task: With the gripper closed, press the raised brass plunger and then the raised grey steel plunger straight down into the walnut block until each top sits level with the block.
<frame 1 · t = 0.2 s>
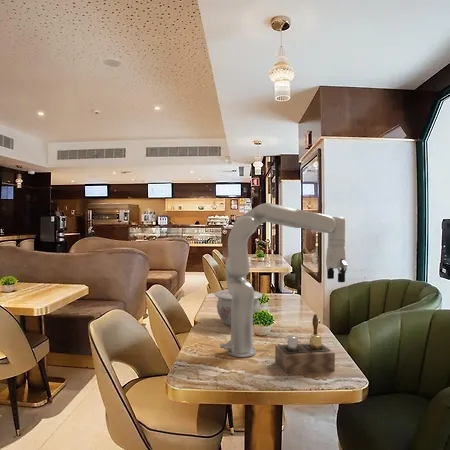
hand: (335, 280, 163), 31 cm above the table, tool pointing down, fingers open, 9 cm apart
chamber pot: (238, 323, 200), on the table
walnut block: (304, 366, 140), on the table
steel plunger: (292, 345, 139), point 9 cm above the table, slide at 5.0 cm
hand bell: (315, 349, 159), on the table
brass plunger: (316, 344, 141), point 9 cm above the table, slide at 5.0 cm
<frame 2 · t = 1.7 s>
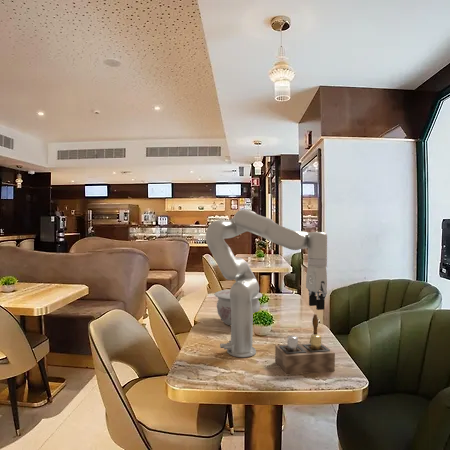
hand: (316, 307, 141), 24 cm above the table, tool pointing down, fingers open, 5 cm apart
nothing on the table moved.
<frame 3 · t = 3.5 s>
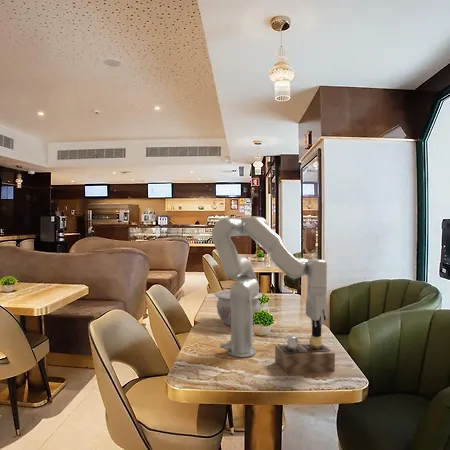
hand: (316, 335, 141), 12 cm above the table, tool pointing down, fingers closed
brass plunger: (316, 344, 141), point 8 cm above the table, slide at 4.9 cm, touching gripper
everything else where it was.
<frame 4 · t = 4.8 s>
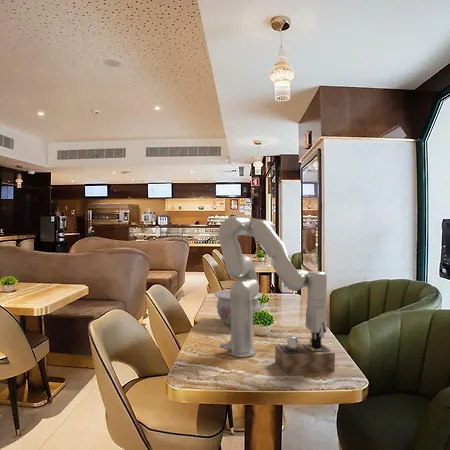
hand: (316, 348, 141), 7 cm above the table, tool pointing down, fingers closed
brass plunger: (315, 356, 141), point 4 cm above the table, slide at 0.1 cm, touching gripper
everything else where it was.
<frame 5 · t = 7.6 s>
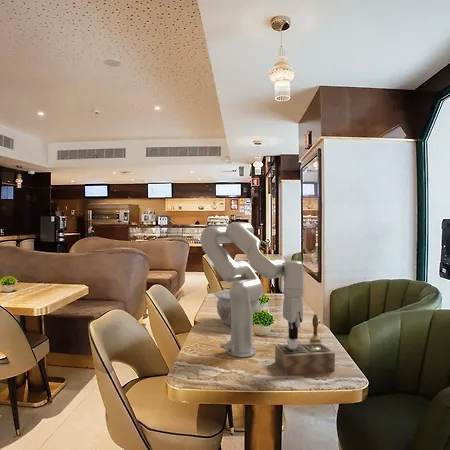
hand: (293, 338, 139), 12 cm above the table, tool pointing down, fingers closed
steel plunger: (292, 347, 139), point 8 cm above the table, slide at 4.5 cm, touching gripper
brass plunger: (315, 356, 141), point 4 cm above the table, slide at 0.1 cm
everything else where it was.
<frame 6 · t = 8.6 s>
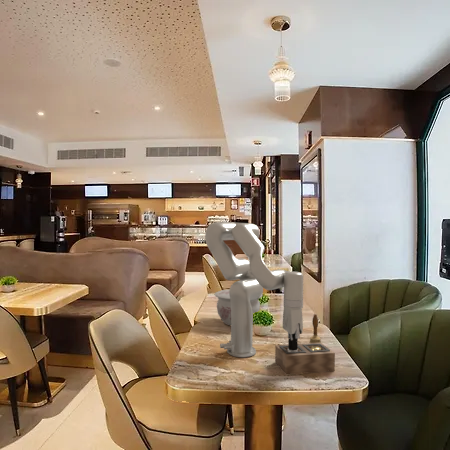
hand: (292, 349, 139), 7 cm above the table, tool pointing down, fingers closed
steel plunger: (292, 358, 139), point 4 cm above the table, slide at 0.1 cm, touching gripper
everything else where it was.
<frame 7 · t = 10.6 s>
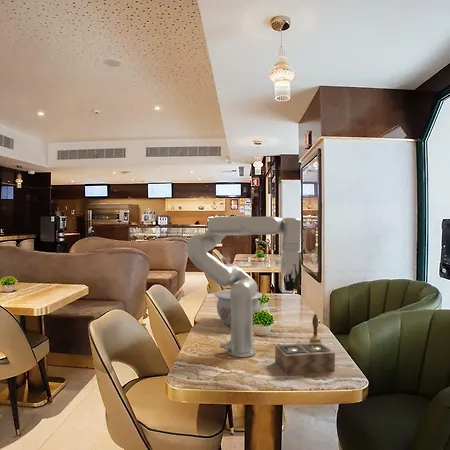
hand: (289, 290, 148), 29 cm above the table, tool pointing down, fingers closed
steel plunger: (292, 358, 139), point 4 cm above the table, slide at 0.1 cm
everything else where it was.
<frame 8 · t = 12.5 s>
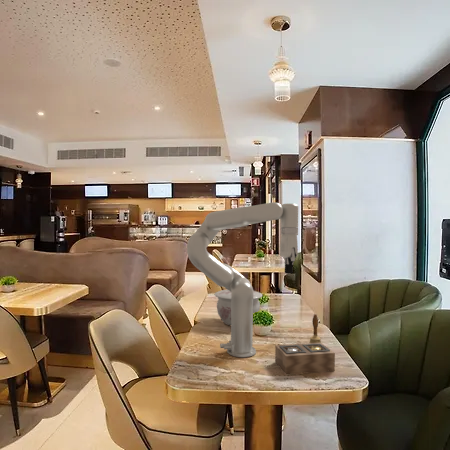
hand: (288, 273, 155), 35 cm above the table, tool pointing down, fingers closed
nothing on the table moved.
at the end: brass plunger slide at 0.1 cm; steel plunger slide at 0.1 cm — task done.
